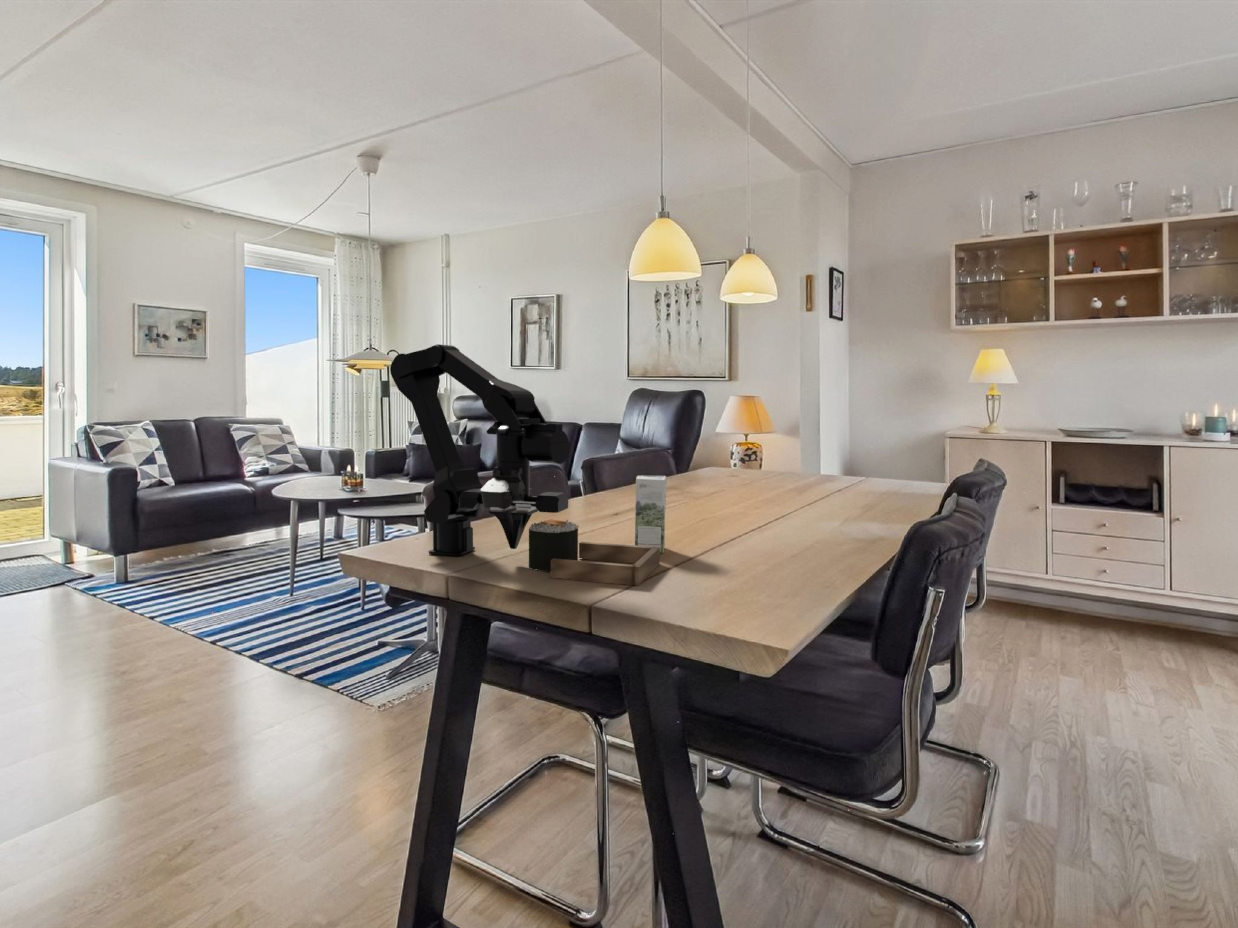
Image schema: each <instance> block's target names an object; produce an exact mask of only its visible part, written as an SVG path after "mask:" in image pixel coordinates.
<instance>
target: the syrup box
mask: <svg viewBox="0 0 1238 928" xmlns="http://www.w3.org/2000/svg"><path fill="white" fill-rule="evenodd" d="M666 502H667V476H666V475H643V474H642V475H637V476H636V478H635V505H634V506H635V510H634V511H635V512H634V515H635V517H634V518H635V519H634V521H635V522H634V546H648V547H660V554H664V553H665V546H666V542H665V541H666V539H665V538H666V533H665V532H666Z"/></svg>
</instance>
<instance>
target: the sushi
mask: <svg viewBox="0 0 1238 928" xmlns="http://www.w3.org/2000/svg"><path fill="white" fill-rule="evenodd" d="M579 526H580V525H578V524H577V523H576V522H572V521H569V519H566V520H560V519H553V518H550V519H547V520H543V521H542V520H540V522H534V523H532V524H531V525H530V526H528V527H529V528H528V568H529V569H531V568H532V569H531V570H533V569H537V570H536V571H540V570H541V571H542V572H549V571H551V560H552V559H553V558H554V559H567V560H579Z"/></svg>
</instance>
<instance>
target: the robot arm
mask: <svg viewBox="0 0 1238 928" xmlns="http://www.w3.org/2000/svg"><path fill="white" fill-rule="evenodd" d="M389 370H390V375H391V378H392V380H393V382H394V384H395V386H396V387H397V390H398V391H399V392H400V393H401V394H403V396H404V397H405V398H406V399H407V400H408V401H409V402H410V403H411V405H412V408H413V411H414V413H415V416H416V418H417V419H416V420H417V422H418V425H419V428H420V431H421V434H422V436H423V439H424V442H425V444H426V447H427V450H428V453H429V456H430V459H431V462H432V464H433V468H434V470H435V474H434V478H433V479H434V480H433V484H432V490H433V495H434V498H433V499H432V500H431V501H430V503H429V504H428V505H427V506H426V508H425V509H424V510H423V512H424V518H425V521H426V522H427V523H432V548H433V549H431V550H428V554H430V555H442V556H451V557H452V556H453V557H460V556H463V555H466V554H468V553H470V552H472V551H474V550H475V549H476V547H475V546H474V528H473V527H472V525H471V524H472V523H471V521H472V520H471V519H476V518H477V517H478V513H479V509H480V506H481V504H482V505H483V508H485V509H490V510H488V513H489V514H490V515H494V517H495V518H496V519H498V521H499V522H500V523H499V524H500V525H501V527H502V529H503V532H504V535H505V537H506V540H507V543H508V546H509V548H510V549H511V550H515V549H518V546H519V543H520V541H521V539H522V536H523V533H524V531H525V528H526V527H527V525H528V522H529V521H530V519H531V517H532V515H533V514H534V513H535V514H536V513H537V512H539V513H548V514H549V513H552V514H555V513H560V512H563V511H565V510H567V509H569V498H568V495H567V494H566V492H553V491H547V492H542V493H540V494H537V495H533V488H530V487H531V483H530V482H531V481H530V479H531V472H533V465H531V464H530V463H531V462H532V463H541V464H556V465H561V464H564V463H565V462H566V461H567V459H568V457H569V455H570V451H571V442H570V440H569V438H568V435H567V434H566V432H565V431H564V430H563V423H560V422H559V423H557V422H556V423H548V422H547V421H546V419H545V418H544V416H543V415H542V412H541V411H540V410H539V407H538V405H537V404H536V401H535V399H536V398H535V396H534V394H533V393H532V391H530V390H528V389H526V388H524V387H521V386H519V385H516V384H513V383H510V382H507V381H503V380H502V379H499V378H498V377H496V376H495V375H493V374H492V373H490V372H489V371H488V370H486V369H485V368H484V367H481V365H480V364H478V363H477V362H475V361H474V360H472V359H471V358H469V357H468V356H467V355H465V354H464V353H463V352H461V351H460V349H459V348H458V347H456V346H454V345H450V344H449V345H448V344H435V345H431V346H430V347H427V348H424V349H421V350H416V351H412V352H409V353H399V354H397V355H396V356H394V359H393V361H392V362H391V364H390V367H389ZM445 374H448V376H450V377H452V378H453V379H454V380H456V381H457V382H458V383H459V384H461V385H463V386H464V387H465V388H467V389H468V390H469V391H470V392H472V393H473V394H474V395H476V396H477V397H478V398H479V399H480V400H481V402H482V405H483V407H484V409H485V410H486V411H487V412H488V413H489V415H491V417H492V418H493V419H494V420H495V421H494V423H493V424H492V425H491V426H490V427H489V428H488V429H487V430H486V433H487V435H496V466H494V467H493V469H492V477H491V479H489V480H488V481H487V482H485V484H484V485H483V484H482V483H481V481H480V478H479V474H478V471H477V470H476V468H475V467H473V468H467V467H466V466H465V465H464V464H463V463H462V461H461V458H460V455H459V452H458V449H457V446H456V445H455V442H454V438H453V435H452V432H451V429H450V428H449V424H448V422H447V419H446V416H445V413H444V410H443V407H442V405H441V402H440V399H439V397H438V392H439V388H440V381H441V379H440V376H443V375H445Z"/></svg>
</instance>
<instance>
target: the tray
mask: <svg viewBox="0 0 1238 928" xmlns="http://www.w3.org/2000/svg"><path fill="white" fill-rule="evenodd" d="M660 556H661V553H660V547H648V546H635V544H633V545H632V544H619V543H606V542H605V543H602V542H593V541H592V542H590V541H589V542H588V541H580V542H578V560H567V559H554V558H553V559H552V560H551V572H550V578H551V579H555V578H564V579H563V580H567V579H571V580H570V581H578V580H582V581H581V582H589V581H594V582H593V583H600V584H601V583H603V584H612V583H613V585H623V584H626V586H635V587H639V586H640V585H641V584H642V583H643V582H644V581H645V580H646V579H647V578H648V577H649V576H650V575H651V573H652V572H653V571H654V570H656V568H657V567H658V566H659V565H660V562H661V560H660V559H661V557H660ZM579 558H582V559H581V560H580V559H579ZM584 559H589V560H584ZM597 560H599V561H597ZM609 561H612V562H609Z"/></svg>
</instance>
